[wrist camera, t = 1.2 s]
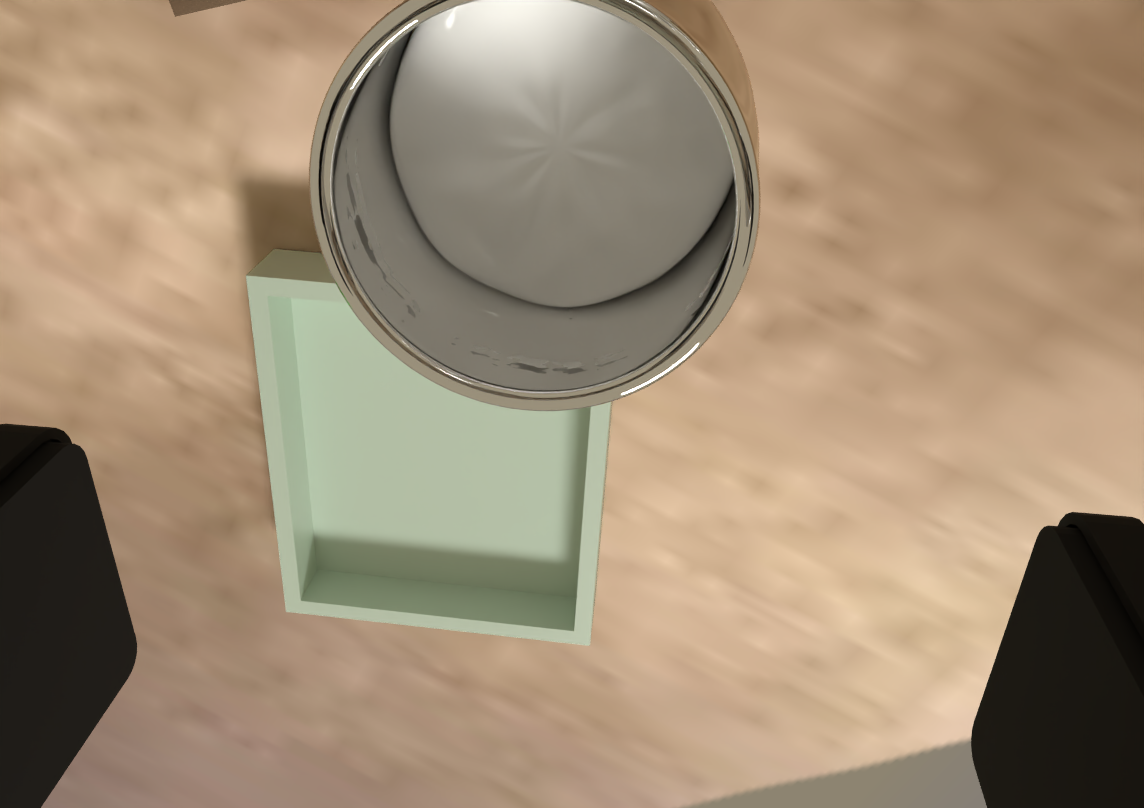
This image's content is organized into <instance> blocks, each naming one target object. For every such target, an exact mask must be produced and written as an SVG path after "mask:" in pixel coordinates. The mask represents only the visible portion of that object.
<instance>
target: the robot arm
mask: <svg viewBox="0 0 1144 808" xmlns="http://www.w3.org/2000/svg"><path fill="white" fill-rule="evenodd" d="M136 654H137V642H136V636H135V633H134V629H133V625H132V622H131V618H130V614H129V611H128V607H127V603H126V600H125V596H124V592H123V589H122V585H121V581H120V578H119V574H118V570H117V567H116V563H115V559H114V556H113V552H112V548H111V544H110V541H109V537H108V533H107V530H106V526H105V522H104V519H103V515H102V511H101V508H100V504H99V500H98V497H97V493H96V489H95V486H94V482H93V478H92V475H91V471H90V467H89V464H88V460H87V457H86V455H85V452H84V450H83V449H82V448H81V447H80V446H78V445H76V444H72V442H71V440H70V438H69V436H68V435H67V434H66V433H65V432H64V431H62V430H60V429H57V428H50V427H38V426H26V425H14V424H0V808H41V806H42V805H43V803H44V802H45V801H46V799H47V798H48V796H49V795H50V793H51V792H52V790H53V789H54V787H55V786H56V784H57V783H58V781H59V780H60V778H61V777H62V775H63V774H64V772H65V771H66V769H67V768H68V766H69V765H70V763H71V762H72V760H73V759H74V758H75V756H76V755H77V753H78V752H79V750H80V749H81V747H82V746H83V744H84V743H85V741H86V740H87V738H88V737H89V735H90V734H91V732H92V731H93V729H94V728H95V726H96V725H97V723H98V722H99V720H100V719H101V717H102V716H103V714H104V713H105V712H106V710H107V709H108V707H109V706H110V704H111V703H112V701H113V700H114V698H115V697H116V695H117V694H118V692H119V691H120V689H121V688H122V686H123V685H124V683H125V682H126V680H127V679H128V677H129V675H130V674H131V672H132V669H133V666H134V664H135V659H136ZM971 747H972V757H973V761H974V766H975V769H976V772H977V776H978V779H979V782H980V786H981V789H982V792H983V795H984V799H985V802H986V805H987V808H1144V524H1143V523H1142V522H1141V521H1140V520H1139V519H1136V518H1133V517H1126V516H1114V515H1101V514H1089V513H1077V512H1071V513H1068V514H1066V515H1065V516H1064V517H1063V518H1062V519H1061V520H1060V522H1059V525H1058V526H1046V527H1044V528H1043V529H1042V530H1041V531H1040V532H1039V535H1038V537H1037V539H1036V542H1035V545H1034V548H1033V551H1032V554H1031V557H1030V559H1029V562H1028V565H1027V568H1026V571H1025V574H1024V577H1023V580H1022V583H1021V586H1020V589H1019V592H1018V595H1017V598H1016V600H1015V603H1014V606H1013V609H1012V612H1011V615H1010V618H1009V621H1008V624H1007V627H1006V630H1005V633H1004V636H1003V639H1002V641H1001V644H1000V647H999V650H998V653H997V656H996V659H995V662H994V665H993V668H992V671H991V674H990V677H989V680H988V683H987V685H986V688H985V691H984V694H983V697H982V700H981V703H980V706H979V709H978V712H977V715H976V718H975V721H974V724H973V728H972V737H971Z"/></svg>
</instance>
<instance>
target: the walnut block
mask: <svg viewBox="0 0 1144 808" xmlns="http://www.w3.org/2000/svg"><path fill="white" fill-rule="evenodd" d="M169 1H170V4H171V7H172V9H173V12H174V15H175V16H180V15H184V14H189V13H193V12H197V11H202V10H206V9H210V8H215V7H219V6H224V5H228V4H232V3H237V2H241V1H245V0H169Z"/></svg>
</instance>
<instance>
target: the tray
mask: <svg viewBox="0 0 1144 808" xmlns="http://www.w3.org/2000/svg"><path fill="white" fill-rule="evenodd" d="M246 280H247V289H248V297H249V305H250V314H251V322H252V330H253V339H254V347H255V356H256V364H257V372H258V381H259V389H260V397H261V406H262V414H263V423H264V431H265V439H266V448H267V456H268V464H269V473H270V481H271V490H272V498H273V506H274V515H275V523H276V531H277V540H278V548H279V557H280V565H281V573H282V582H283V590H284V598H285V607H286V612H293V613H302V614H311V615H320V616H329V617H338V618H347V619H356V620H365V621H374V622H383V623H392V624H401V625H410V626H419V627H427V628H436V629H445V630H454V631H463V632H472V633H481V634H490V635H499V636H508V637H517V638H526V639H535V640H544V641H553V642H561V643H570V644H579V645H588V646H590V640H591V631H592V623H593V614H594V606H595V595H596V584H597V572H598V561H599V549H600V538H601V526H602V515H603V503H604V492H605V480H606V469H607V457H608V446H609V434H610V423H611V411H612V401H611V402H608V403H605V404H601V405H597V406H592V407H587V408H581V409H574V410H564V411H528V410H518V409H511V408H505V407H500V406H495V405H491V404H487V403H483V402H480V401H476V400H473V399H470V398H468V397H465V396H462V395H460V394H457V393H455V392H452V391H450V390H448V389H446V388H443V387H441V386H440V385H438V384H436V383H434V382H432V381H430V380H428V379H427V378H425V377H423V376H422V375H420V374H418V373H417V372H415V371H414V370H412V369H411V368H410V367H408V366H407V365H405V364H404V363H403V362H401V361H400V360H399V359H398V358H396V357H395V356H394V355H393V354H392V353H390V352H389V351H388V350H387V349H386V348H385V347H384V346H383V345H382V344H381V343H380V342H378V341H377V339H376V338H375V337H374V336H373V335H372V334H371V333H370V332H369V331H368V330H367V329H366V327H365V326H364V325H363V324H362V323H361V321H360V320H359V319H358V318H357V316H356V315H355V314H354V312H353V311H352V310H351V308H350V307H349V305H348V304H347V302H346V301H345V299H344V297H343V296H342V294H341V292H340V291H339V289H338V287H337V285H336V284H335V282H334V280H333V278H332V276H331V274H330V271H329V269H328V267H327V264H326V262H325V259H324V257H323V254H322V253H315V252H304V251H293V250H281V249H273V250H272V251H271V252H270V253H269V254H268V255H267V256H266V257H265V258H264V259H263V260H262V261H261V262H260V263H259V264H258V265H257V266H255V267H254V268H253V269H252V270H251V271H250V272H249V273H248V274H247V275H246Z"/></svg>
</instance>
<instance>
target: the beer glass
mask: <svg viewBox="0 0 1144 808" xmlns="http://www.w3.org/2000/svg"><path fill="white" fill-rule="evenodd" d="M309 192H310V203H311V210H312V217H313V222H314V227H315V231H316V235H317V238H318V242H319V245H320V248H321V251H322V254H323V257H324V259H325V262H326V264H327V267H328V269H329V271H330V274H331V276H332V278H333V280H334V282H335V284H336V285H337V287H338V289H339V291H340V292H341V294H342V296H343V297H344V299H345V301H346V302H347V304H348V305H349V307H350V308H351V310H352V311H353V312H354V314H355V315H356V316H357V318H358V319H359V320H360V321H361V323H362V324H363V325H364V326H365V327H366V329H367V330H368V331H369V332H370V333H371V334H372V335H373V336H374V337H375V338H376V339H377V341H378V342H380V343H381V344H382V345H383V346H384V347H385V348H386V349H387V350H388V351H389V352H390V353H392V354H393V355H394V356H395V357H396V358H398V359H399V360H400V361H401V362H403V363H404V364H405V365H407V366H408V367H410V368H411V369H412V370H414V371H415V372H417V373H418V374H420V375H422V376H423V377H425V378H427V379H428V380H430V381H432V382H434V383H436V384H438V385H440V386H441V387H443V388H446V389H448V390H450V391H452V392H455V393H457V394H460V395H462V396H465V397H468V398H470V399H473V400H476V401H480V402H483V403H487V404H491V405H495V406H500V407H505V408H511V409H518V410H528V411H564V410H574V409H581V408H587V407H592V406H597V405H601V404H605V403H608V402H611V401H615V400H618V399H620V398H623V397H626V396H628V395H631V394H633V393H636V392H638V391H640V390H642V389H644V388H646V387H648V386H650V385H652V384H654V383H655V382H657V381H659V380H660V379H662V378H664V377H665V376H667V375H668V374H670V373H671V372H673V371H674V370H675V369H677V368H678V367H679V366H681V365H682V364H683V363H684V362H686V361H687V360H688V359H689V358H690V357H691V356H692V355H694V354H695V353H696V352H697V351H698V350H699V349H700V348H701V347H702V346H703V345H704V344H705V342H706V341H707V340H708V339H709V338H710V337H711V336H712V334H713V333H714V332H715V331H716V329H717V328H718V327H719V326H720V324H721V323H722V321H723V320H724V318H725V317H726V315H727V314H728V312H729V311H730V309H731V307H732V306H733V304H734V302H735V300H736V298H737V296H738V294H739V292H740V290H741V288H742V286H743V283H744V281H745V279H746V276H747V273H748V270H749V268H750V264H751V261H752V258H753V254H754V250H755V246H756V241H757V236H758V229H759V220H760V180H759V130H758V120H757V114H756V108H755V102H754V96H753V90H752V85H751V81H750V78H749V74H748V71H747V68H746V65H745V62H744V59H743V56H742V54H741V52H740V49H739V47H738V45H737V43H736V41H735V39H734V37H733V35H732V33H731V31H730V30H729V28H728V26H727V24H726V22H725V20H724V19H723V17H722V15H721V14H720V12H719V11H718V9H717V8H716V6H715V5H714V3H713V2H712V1H711V0H404V1H403V2H402V3H401V4H400V5H398V6H397V7H395V8H394V9H393V10H391V11H390V12H389V13H387V14H386V15H385V16H384V17H383V18H382V19H380V20H379V21H378V22H377V23H376V24H375V25H374V26H373V27H372V28H371V29H370V30H369V31H368V32H367V33H366V34H365V35H364V36H363V37H362V38H361V39H360V41H359V42H358V43H357V44H356V45H355V47H354V48H353V49H352V50H351V52H350V53H349V55H348V56H347V57H346V59H345V60H344V62H343V63H342V65H341V66H340V68H339V70H338V72H337V73H336V75H335V77H334V79H333V81H332V83H331V85H330V87H329V89H328V91H327V93H326V96H325V98H324V101H323V103H322V106H321V109H320V112H319V115H318V118H317V122H316V126H315V130H314V135H313V140H312V146H311V153H310V165H309Z"/></svg>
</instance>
